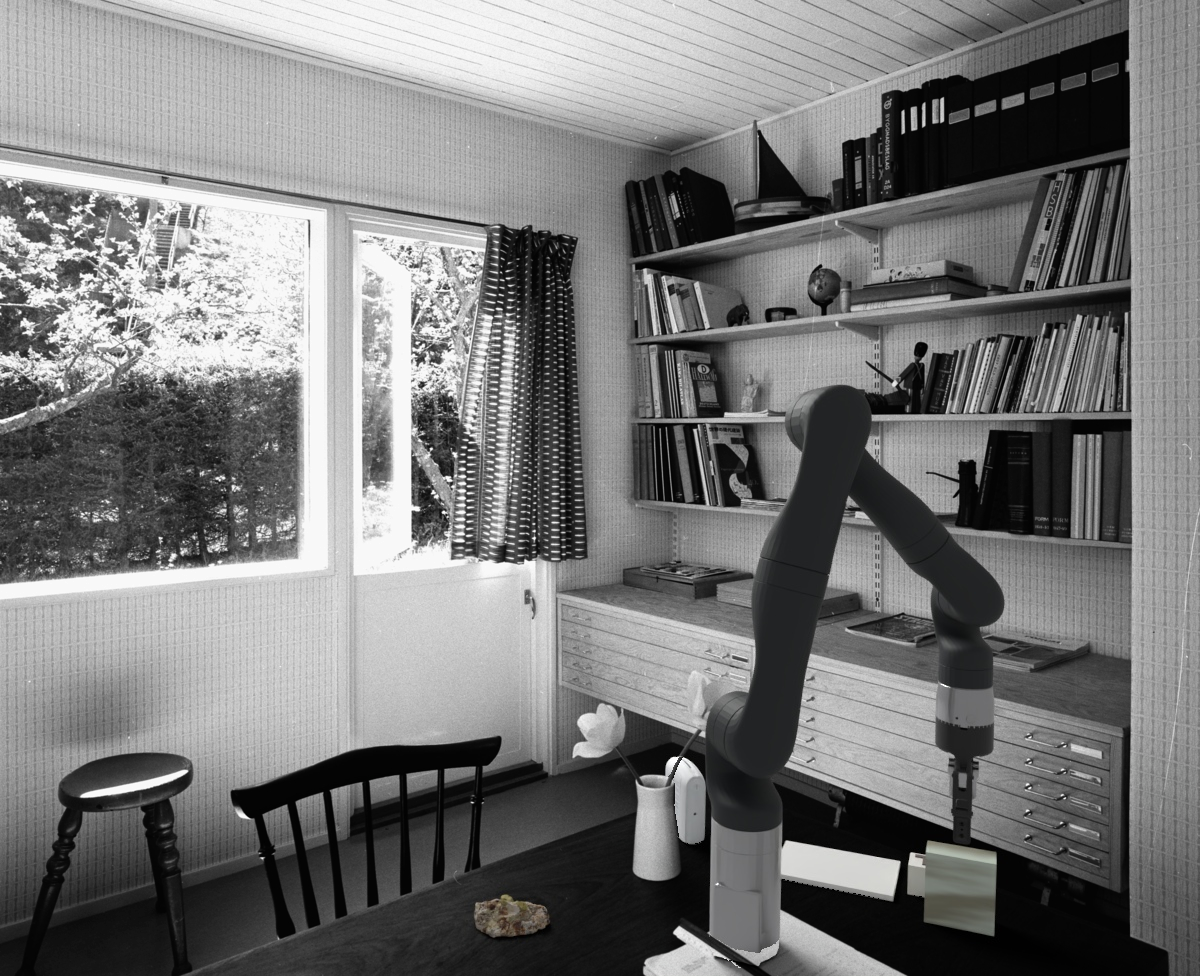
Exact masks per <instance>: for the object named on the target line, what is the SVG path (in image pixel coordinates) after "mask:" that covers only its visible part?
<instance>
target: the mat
mask: <svg viewBox="0 0 1200 976" xmlns="http://www.w3.org/2000/svg"><path fill="white" fill-rule="evenodd" d="M900 869H901V861H900V860H895V859H890V858H884V857H877V856H873V855H868V854H864V853H863V854H862V853H857V852H852V851H846V850H841V849H834V848H831V847H830V848H829V847H824V846H820V845H813V844H807V843H802V842H797V841H791V840H785V841H784V844H783V846H782V854H781V880H782V879H785V880H784V881H787V880H789V881H788V882H792V881H795V882H794V883H797V882H798V884H802V883H803V885H807V884H808V886H812V885H813V887H817V886H818V887H819V888H822V887H824V888H825V889H827V888H829V890H832V889H834V890H835V891H837V890H839V891H838V892H843V891H844V893H848V892H849V893H848V894H853V893H856V894H855V895H858V894H861V895H860V896H863V895H865V896H864V897H868V896H870V897H869V898H873V897H874V898H873V899H878V898H879V899H878V900H883V901H884V900H885V901H889V902H894V898H895V893H896V889H897V884H898V879H899V873H900ZM824 888H823V889H824Z"/></svg>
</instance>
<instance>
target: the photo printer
mask: <svg viewBox="0 0 1200 976" xmlns="http://www.w3.org/2000/svg"><path fill="white" fill-rule="evenodd" d="M679 757H680V756H677V757H676V756H673V757H670V759H668V761H667V762H666V765H665V778H666V777H668V776H669V775H670V774H671V772H672V770H673V767H674V765H675V763H676V762H677V760H678V758H679ZM682 757H683V756H682ZM673 780H674V783H675V804H674V806H675V814H676V820H677V826H678V833H679V837H678V838H679V839H680V840H681V841H682V842H684V843H686V844H687V843H688V844H689V845H696V844H695V843H698V844H700V843H702V842H701V841H704V840H705V836H706V835H705V834H706V833H705V832H706V829H705V827H706V794H707V793H706V792H707V786H706V779H705V778H704V776H703V774H702V773H701V771H700V770H699V768H698V767H697V766H696V765H695V764H694V762H693V761H690V760H689V759H688V758H685V757H683V758H682V760H681V761H680V763H679V765H678V767H677V770H676V772H675V775H674V778H673ZM699 842H700V843H699ZM688 844H687V845H688Z"/></svg>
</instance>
